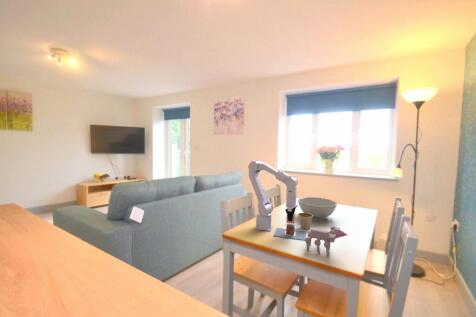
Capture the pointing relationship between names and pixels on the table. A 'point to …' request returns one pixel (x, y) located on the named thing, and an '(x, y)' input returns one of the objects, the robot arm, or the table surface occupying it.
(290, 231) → the walnut block
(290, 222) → the terracotta block
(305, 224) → the flower pot
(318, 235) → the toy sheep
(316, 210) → the decorative bowl
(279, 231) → the board
